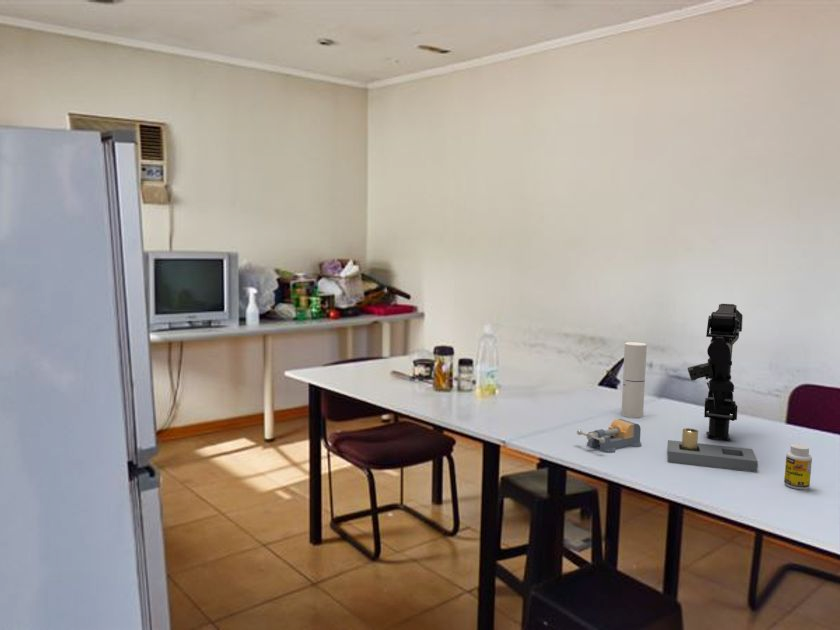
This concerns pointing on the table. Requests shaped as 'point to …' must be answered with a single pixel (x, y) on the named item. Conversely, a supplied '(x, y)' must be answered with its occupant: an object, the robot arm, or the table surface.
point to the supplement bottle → (798, 467)
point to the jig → (713, 456)
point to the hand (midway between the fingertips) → (717, 409)
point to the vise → (615, 436)
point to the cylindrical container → (634, 379)
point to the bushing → (689, 439)
